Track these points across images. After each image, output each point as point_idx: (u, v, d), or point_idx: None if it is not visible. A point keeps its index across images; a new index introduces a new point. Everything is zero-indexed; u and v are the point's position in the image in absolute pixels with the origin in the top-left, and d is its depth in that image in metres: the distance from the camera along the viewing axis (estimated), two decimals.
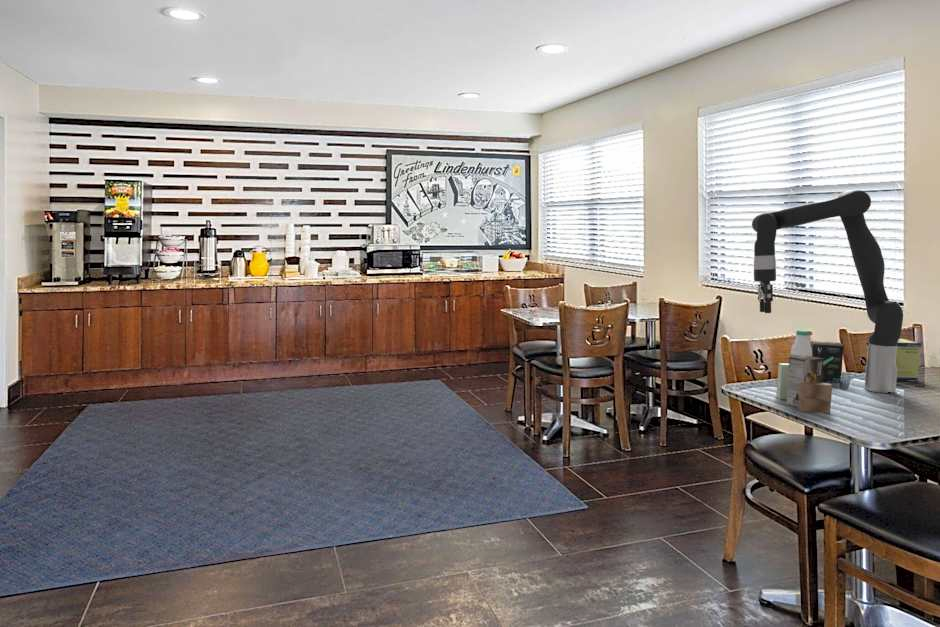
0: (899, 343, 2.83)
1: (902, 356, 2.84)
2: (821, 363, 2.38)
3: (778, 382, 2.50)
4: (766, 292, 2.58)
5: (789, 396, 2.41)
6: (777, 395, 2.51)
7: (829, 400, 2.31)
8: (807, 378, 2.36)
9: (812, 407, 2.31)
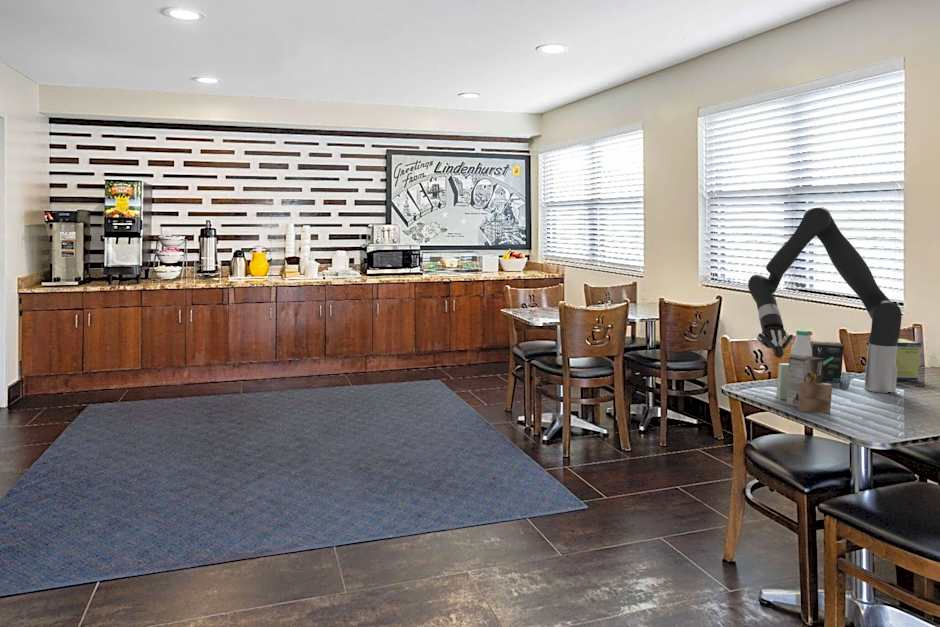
0: (899, 343, 2.83)
1: (902, 356, 2.84)
2: (821, 363, 2.38)
3: (778, 382, 2.50)
4: (762, 342, 2.65)
5: (789, 396, 2.41)
6: (777, 395, 2.51)
7: (829, 400, 2.31)
8: (807, 378, 2.36)
9: (812, 407, 2.31)
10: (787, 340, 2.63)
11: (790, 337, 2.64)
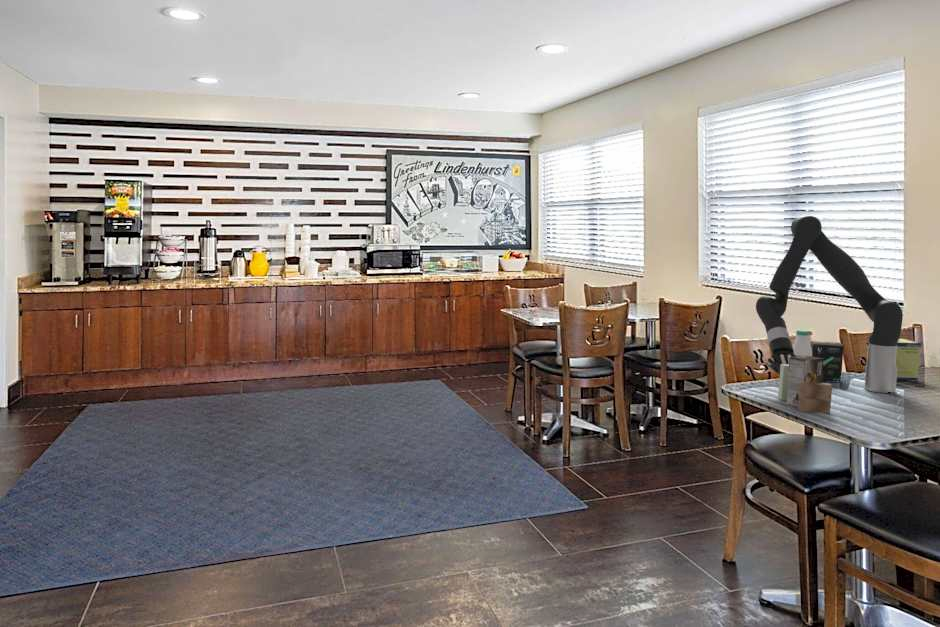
0: (899, 343, 2.83)
1: (902, 356, 2.84)
2: (821, 363, 2.38)
3: (780, 383, 2.49)
4: (772, 368, 2.55)
5: (789, 396, 2.41)
6: (779, 396, 2.49)
7: (829, 400, 2.31)
8: (807, 378, 2.36)
9: (812, 407, 2.31)
10: None
11: None
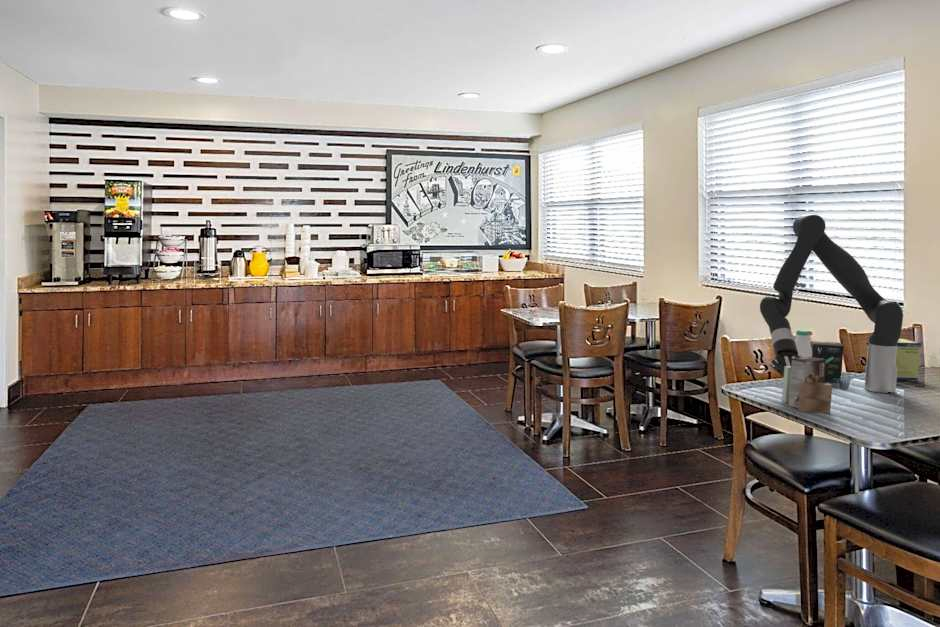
0: (899, 343, 2.83)
1: (902, 356, 2.84)
2: (824, 364, 2.36)
3: (784, 385, 2.45)
4: (775, 369, 2.51)
5: (791, 397, 2.39)
6: (783, 399, 2.46)
7: (829, 400, 2.31)
8: (808, 379, 2.34)
9: (812, 407, 2.31)
10: None
11: None
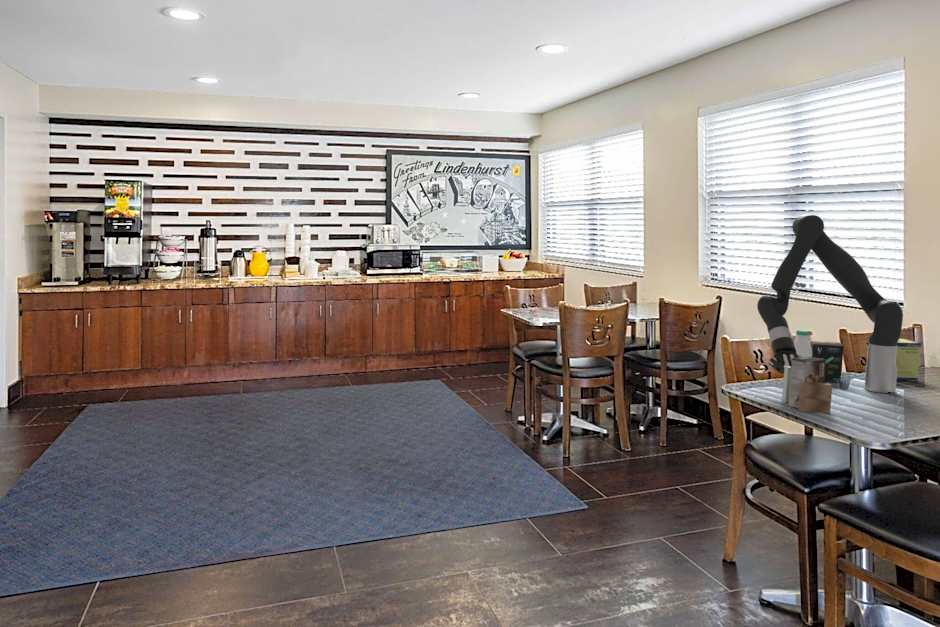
0: (899, 343, 2.83)
1: (902, 356, 2.84)
2: (824, 364, 2.36)
3: (784, 385, 2.45)
4: (774, 368, 2.53)
5: (791, 397, 2.39)
6: (783, 399, 2.46)
7: (829, 400, 2.31)
8: (808, 379, 2.34)
9: (812, 407, 2.31)
10: None
11: None
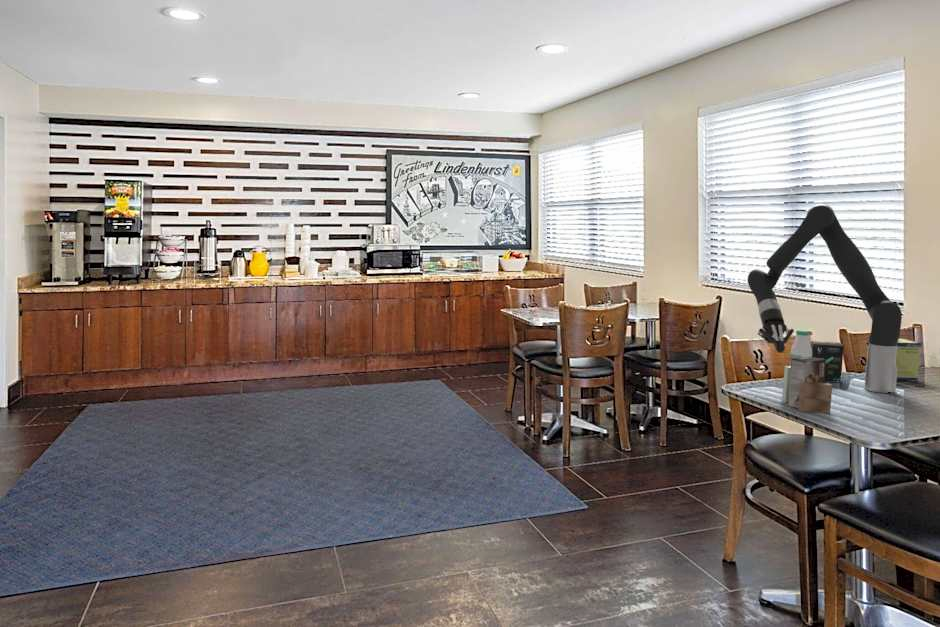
0: (899, 343, 2.83)
1: (902, 356, 2.84)
2: (824, 364, 2.36)
3: (784, 385, 2.45)
4: (763, 338, 2.65)
5: (791, 397, 2.39)
6: (783, 399, 2.46)
7: (829, 400, 2.31)
8: (808, 379, 2.34)
9: (812, 407, 2.31)
10: (788, 334, 2.63)
11: (791, 331, 2.63)
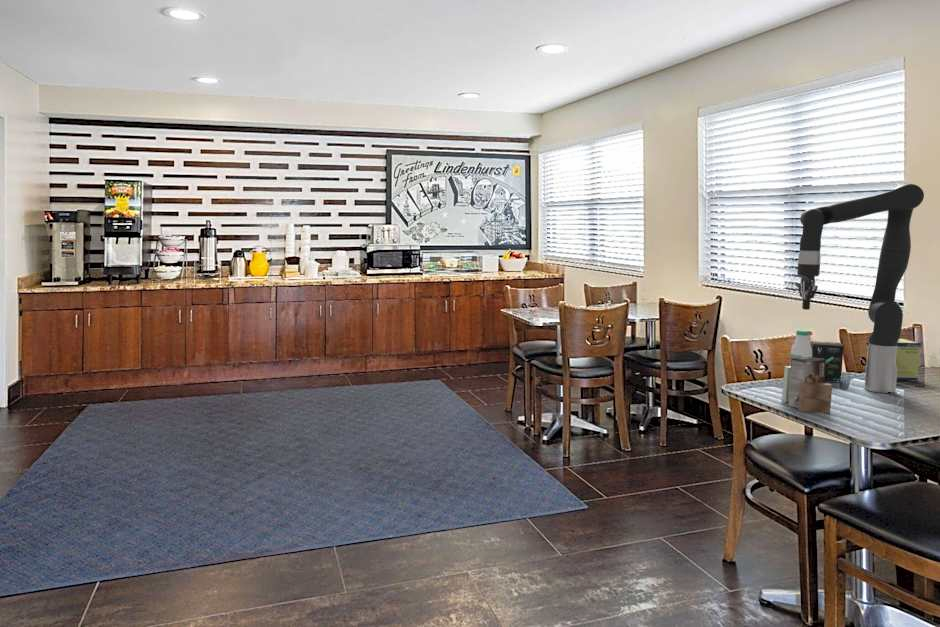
0: (899, 343, 2.83)
1: (902, 356, 2.84)
2: (824, 364, 2.36)
3: (784, 385, 2.45)
4: (809, 292, 2.65)
5: (791, 397, 2.39)
6: (783, 399, 2.46)
7: (829, 400, 2.31)
8: (808, 379, 2.34)
9: (812, 407, 2.31)
10: None
11: None
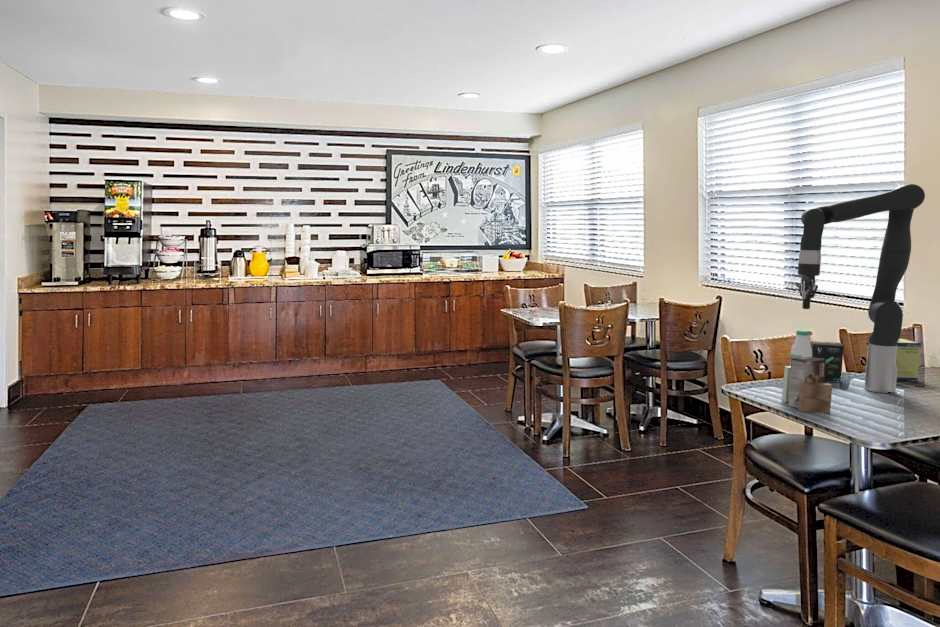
0: (899, 343, 2.83)
1: (902, 356, 2.84)
2: (824, 364, 2.36)
3: (784, 385, 2.45)
4: (809, 292, 2.65)
5: (791, 397, 2.39)
6: (783, 399, 2.46)
7: (829, 400, 2.31)
8: (808, 379, 2.34)
9: (812, 407, 2.31)
10: None
11: None
